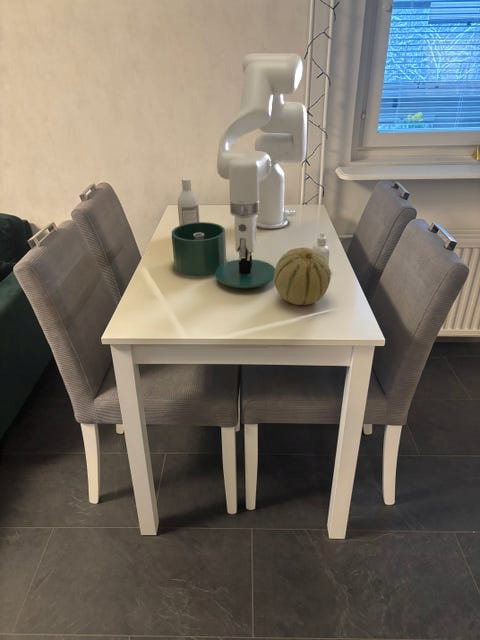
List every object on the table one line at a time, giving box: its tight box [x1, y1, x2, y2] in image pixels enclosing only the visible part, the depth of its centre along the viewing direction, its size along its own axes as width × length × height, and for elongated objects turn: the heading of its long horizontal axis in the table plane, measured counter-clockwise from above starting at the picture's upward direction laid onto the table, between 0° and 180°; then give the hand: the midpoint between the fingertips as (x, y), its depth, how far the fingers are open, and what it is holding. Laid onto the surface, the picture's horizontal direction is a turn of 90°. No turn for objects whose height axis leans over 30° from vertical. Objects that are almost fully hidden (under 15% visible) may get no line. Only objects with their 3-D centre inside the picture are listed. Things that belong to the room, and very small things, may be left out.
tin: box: [171, 221, 227, 278], centre depth 149 cm, size 16×16×12 cm
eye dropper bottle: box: [312, 232, 330, 265], centre depth 144 cm, size 4×6×12 cm
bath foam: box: [177, 177, 200, 226], centre depth 169 cm, size 7×7×20 cm
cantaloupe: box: [273, 247, 332, 306], centre depth 128 cm, size 15×15×15 cm
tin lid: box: [214, 258, 276, 289], centre depth 139 cm, size 17×17×6 cm
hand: (245, 270), depth 140 cm, fingers closed on tin lid, 2 cm apart
